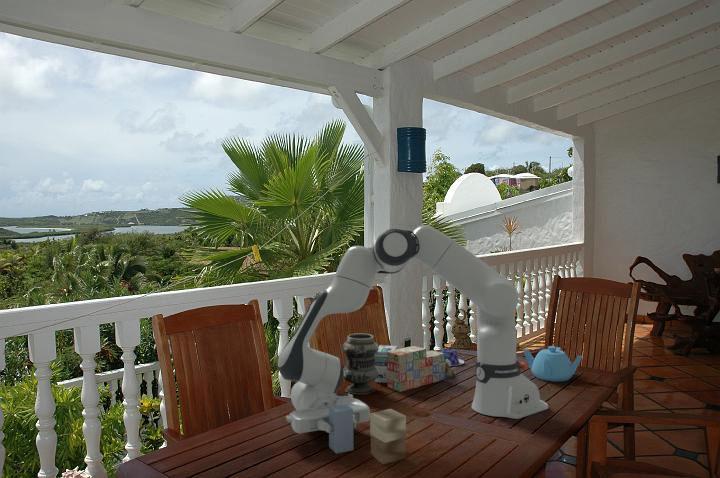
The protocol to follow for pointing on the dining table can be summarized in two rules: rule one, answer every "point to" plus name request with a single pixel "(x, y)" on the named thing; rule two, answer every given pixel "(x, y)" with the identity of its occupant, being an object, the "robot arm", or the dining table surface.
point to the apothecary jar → (360, 363)
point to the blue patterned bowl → (452, 356)
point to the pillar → (341, 428)
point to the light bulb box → (382, 362)
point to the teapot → (552, 364)
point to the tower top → (388, 425)
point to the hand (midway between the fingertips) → (342, 427)
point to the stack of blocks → (414, 368)
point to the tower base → (388, 450)
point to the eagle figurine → (448, 370)
